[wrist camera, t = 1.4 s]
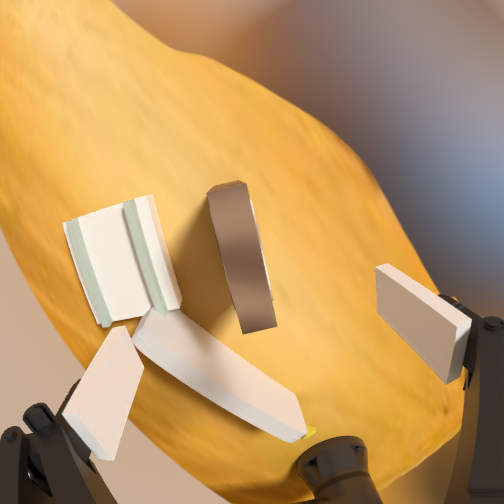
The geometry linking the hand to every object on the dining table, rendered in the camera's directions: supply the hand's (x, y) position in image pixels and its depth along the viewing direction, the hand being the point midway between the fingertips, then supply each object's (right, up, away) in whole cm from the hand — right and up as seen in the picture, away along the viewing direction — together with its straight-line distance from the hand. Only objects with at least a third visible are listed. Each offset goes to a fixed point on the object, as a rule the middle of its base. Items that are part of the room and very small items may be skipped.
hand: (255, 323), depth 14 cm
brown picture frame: (-2, +6, +22) cm, 23 cm away
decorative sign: (-2, -14, +28) cm, 31 cm away
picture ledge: (-17, +3, +22) cm, 28 cm away
